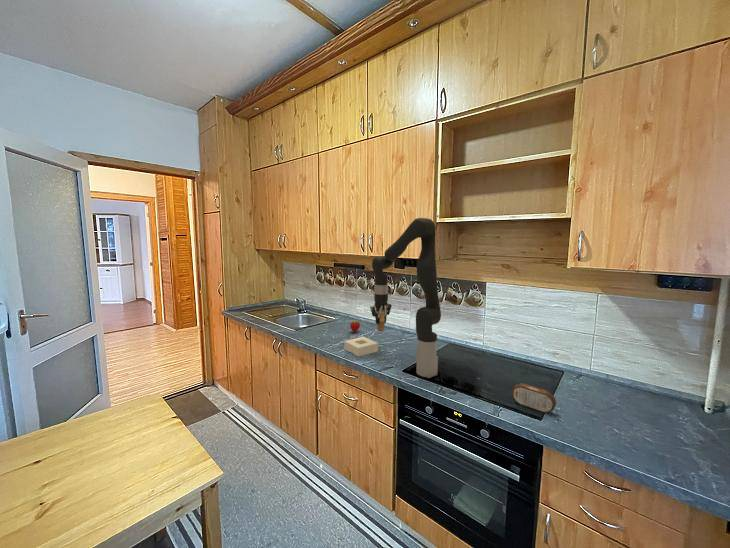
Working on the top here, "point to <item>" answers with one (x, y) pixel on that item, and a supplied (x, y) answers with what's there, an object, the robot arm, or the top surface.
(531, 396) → the brown rounded slab
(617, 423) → the top surface
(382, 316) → the peg
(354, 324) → the strawberry
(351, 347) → the socket block
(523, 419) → the top surface
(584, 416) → the top surface
